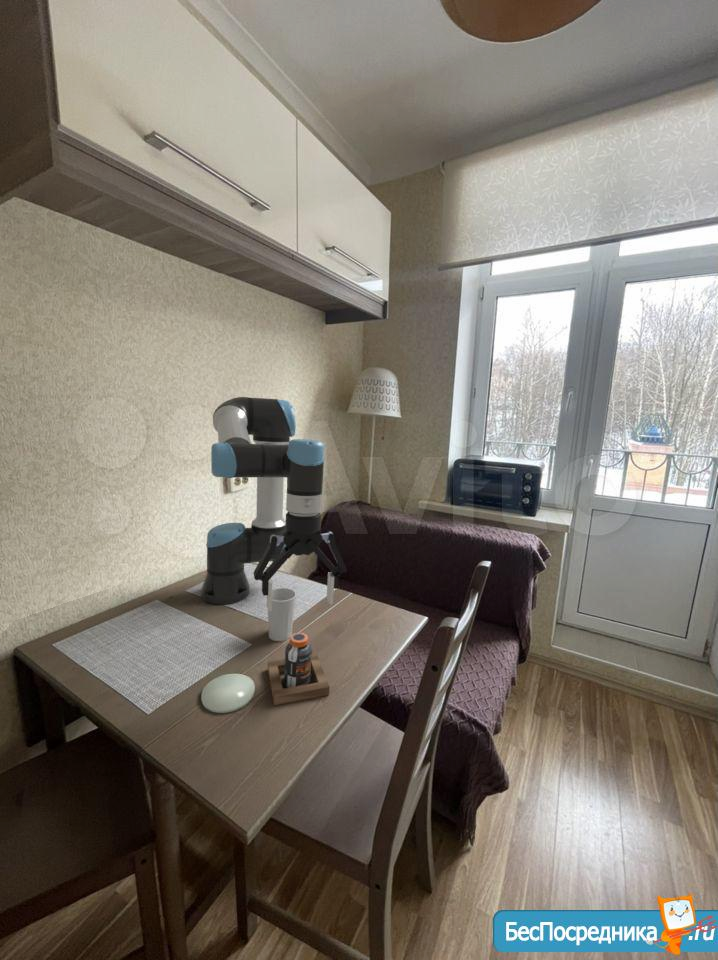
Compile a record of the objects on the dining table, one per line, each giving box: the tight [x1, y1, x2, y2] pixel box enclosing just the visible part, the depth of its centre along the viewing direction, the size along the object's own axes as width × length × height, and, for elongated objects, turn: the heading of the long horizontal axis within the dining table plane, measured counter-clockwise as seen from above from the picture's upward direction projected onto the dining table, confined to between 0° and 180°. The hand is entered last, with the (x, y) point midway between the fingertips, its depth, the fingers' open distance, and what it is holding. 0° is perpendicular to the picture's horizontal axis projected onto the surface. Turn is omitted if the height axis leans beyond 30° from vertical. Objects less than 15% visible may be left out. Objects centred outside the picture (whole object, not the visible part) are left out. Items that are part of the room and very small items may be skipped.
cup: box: [267, 587, 297, 642], centre depth 106 cm, size 8×8×12 cm
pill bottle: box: [283, 632, 313, 688], centre depth 88 cm, size 6×6×11 cm
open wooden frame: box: [267, 654, 330, 706], centre depth 89 cm, size 12×12×2 cm
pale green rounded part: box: [201, 673, 256, 714], centre depth 84 cm, size 11×11×1 cm
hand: (300, 605), depth 86 cm, fingers open, 13 cm apart
